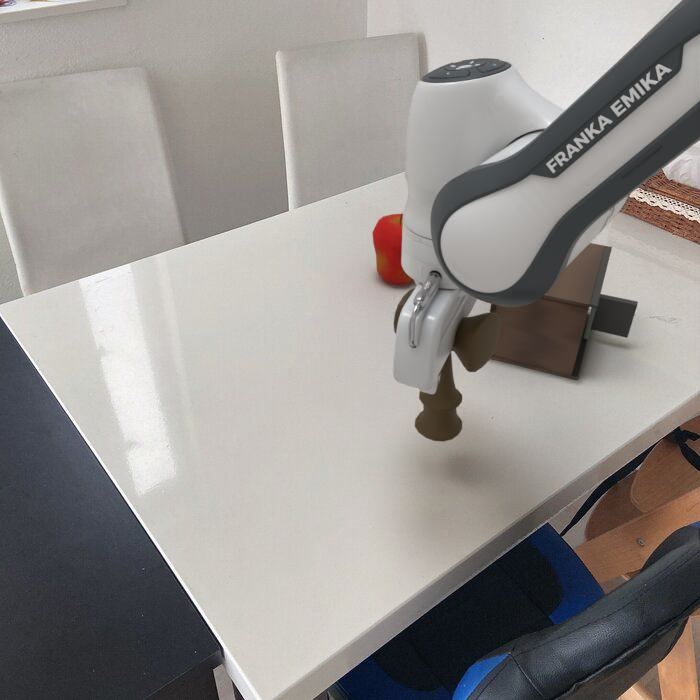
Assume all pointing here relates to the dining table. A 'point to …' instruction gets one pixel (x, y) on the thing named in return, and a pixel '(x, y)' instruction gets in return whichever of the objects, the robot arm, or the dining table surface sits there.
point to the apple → (390, 249)
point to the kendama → (473, 351)
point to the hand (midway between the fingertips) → (440, 366)
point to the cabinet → (555, 319)
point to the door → (611, 316)
